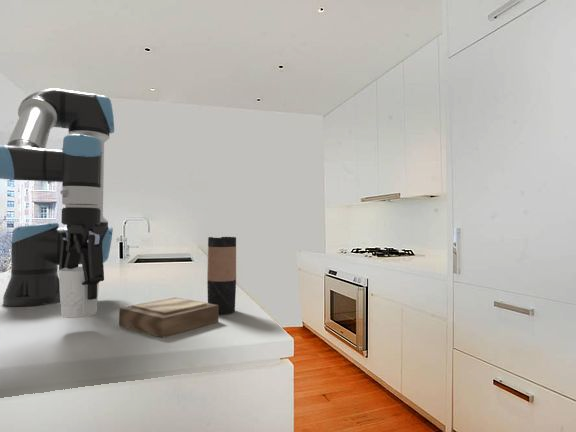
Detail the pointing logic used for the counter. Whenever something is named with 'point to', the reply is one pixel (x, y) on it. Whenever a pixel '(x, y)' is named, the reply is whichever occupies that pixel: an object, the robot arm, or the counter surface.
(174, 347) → the counter surface
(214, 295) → the travel mug
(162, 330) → the walnut riser
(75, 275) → the white cup
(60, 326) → the counter surface
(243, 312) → the counter surface
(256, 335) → the counter surface
